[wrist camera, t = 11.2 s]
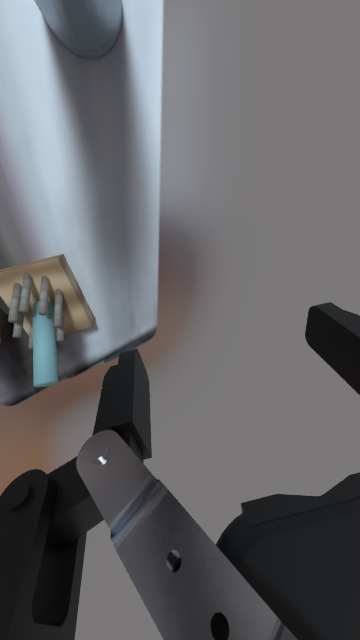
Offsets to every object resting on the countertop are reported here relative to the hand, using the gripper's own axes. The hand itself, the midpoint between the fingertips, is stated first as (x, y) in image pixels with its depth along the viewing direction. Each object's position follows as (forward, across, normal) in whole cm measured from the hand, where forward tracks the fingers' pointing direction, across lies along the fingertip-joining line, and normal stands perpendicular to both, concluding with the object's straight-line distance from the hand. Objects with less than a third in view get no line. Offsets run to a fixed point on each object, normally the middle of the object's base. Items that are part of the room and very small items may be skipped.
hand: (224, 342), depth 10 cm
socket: (+34, +24, +8) cm, 43 cm away
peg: (+30, +24, +8) cm, 39 cm away
